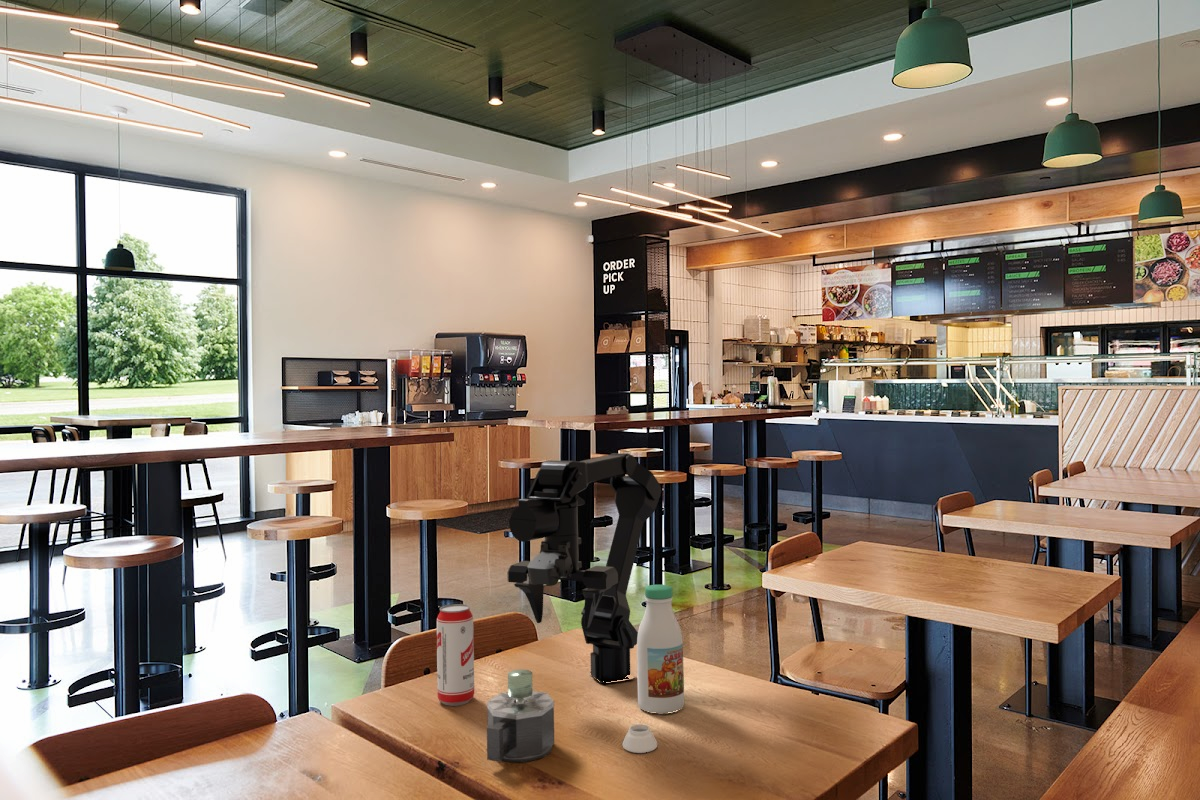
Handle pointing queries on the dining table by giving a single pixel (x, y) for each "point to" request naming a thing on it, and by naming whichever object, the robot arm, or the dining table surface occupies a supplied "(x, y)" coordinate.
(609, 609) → the robot arm
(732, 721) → the dining table surface
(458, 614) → the beer can
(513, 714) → the grey octagonal canister
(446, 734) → the dining table surface
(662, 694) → the milk bottle
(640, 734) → the white jar
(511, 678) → the plunger
